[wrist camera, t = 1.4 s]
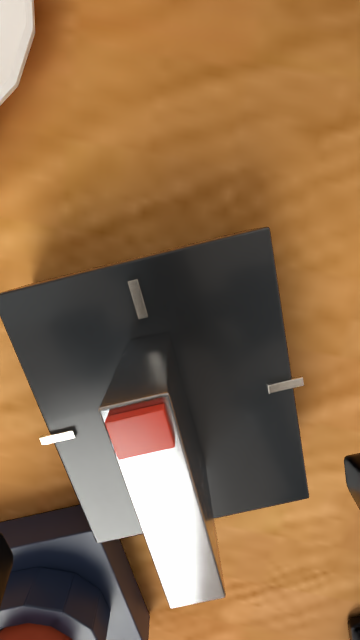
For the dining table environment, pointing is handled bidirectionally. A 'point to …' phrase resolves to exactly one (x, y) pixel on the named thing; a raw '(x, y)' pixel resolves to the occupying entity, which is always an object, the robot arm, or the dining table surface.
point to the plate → (14, 42)
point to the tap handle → (164, 469)
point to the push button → (32, 633)
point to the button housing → (70, 579)
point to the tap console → (194, 362)
